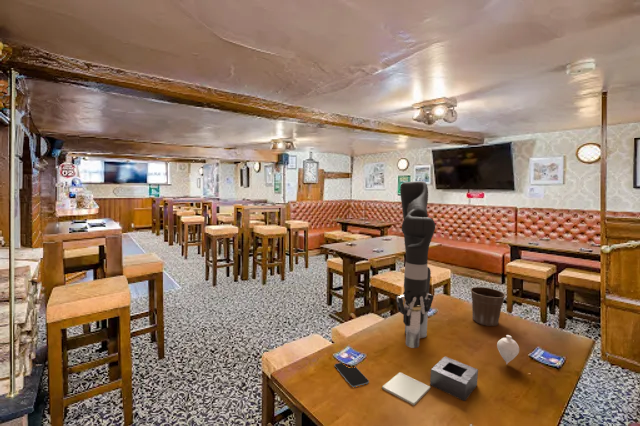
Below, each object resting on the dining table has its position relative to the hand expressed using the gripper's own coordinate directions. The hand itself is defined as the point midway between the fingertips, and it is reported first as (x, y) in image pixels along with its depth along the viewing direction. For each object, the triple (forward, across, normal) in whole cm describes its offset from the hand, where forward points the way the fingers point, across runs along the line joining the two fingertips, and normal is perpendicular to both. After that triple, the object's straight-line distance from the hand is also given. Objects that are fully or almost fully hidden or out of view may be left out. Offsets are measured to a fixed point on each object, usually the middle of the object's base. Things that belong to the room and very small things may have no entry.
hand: (413, 324), depth 109 cm
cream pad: (+24, -1, +1) cm, 24 cm away
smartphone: (+24, -16, +14) cm, 32 cm away
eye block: (+23, +16, -2) cm, 29 cm away
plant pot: (+23, +71, +38) cm, 84 cm away
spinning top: (+23, +47, +3) cm, 52 cm away
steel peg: (+7, 0, 0) cm, 7 cm away
